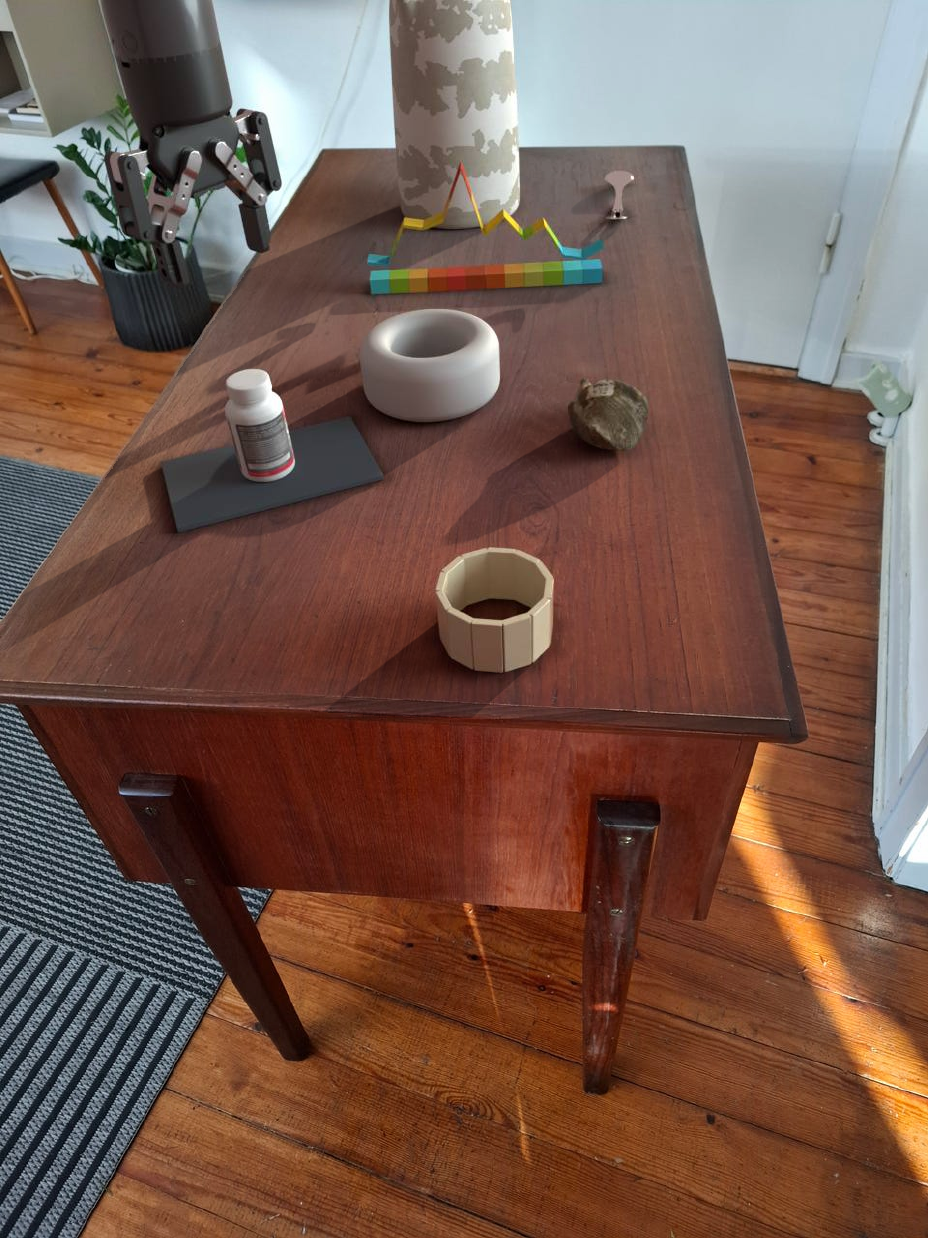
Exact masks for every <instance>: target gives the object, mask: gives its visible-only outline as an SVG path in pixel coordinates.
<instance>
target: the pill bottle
mask: <svg viewBox="0 0 928 1238" xmlns="http://www.w3.org/2000/svg"><path fill="white" fill-rule="evenodd" d="M225 387H226V391H227V396H228V398H229V400H228V401H227V402H226V404H225V407H224V413H225V418H226V421H227V425H228V429H229V432H230V436H231V440H232V445H233V444H234V448H235V451H236V455H237V458H238V462H239V465H240V469H241V472H242V474H243V475H244V476H245V477H246V478H247V479H249V480H252V481H256V482H270V481H275V480H278V479H281V478H283V477H284V476H286V475H287V474H289V473H290V472H291V471H292V469H293V468H294V465H295V459H294V454H293V449H292V445H291V440H290V436H289V431H290V430H289V427H288V422H287V419H286V418H287V417H286V414H285V407H284V403H283V401H282V399H281V397H280V396H279V395H278V394H277V393H276V392H274V391H272V390H273V389H272V387H273V385H272V382H271V378H270V376H269V373H267V372H266V371H265V370H263V369H259V368H248V369H247V368H246V369H243V370H240V371H237V372H234V373H233V374H231V375H229V377H228V378H227V379H226V382H225Z"/></svg>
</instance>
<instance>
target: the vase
mask: <svg viewBox="0 0 928 1238" xmlns="http://www.w3.org/2000/svg"><path fill="white" fill-rule="evenodd" d="M388 4H389V5H388V28H389V29H388V30H389V52H390V71H391V73H390V74H391V93H392V112H393V127H394V128H393V130H394V142H395V143H394V144H395V145H394V146H395V157H396V170H397V180H398V181H397V182H398V193H399V204H400V210H401V212H402V214H403V216H404V217H405V218H413V219H421V220H425V219H428V218H430V217H432V216H435V215H437V214H439V213H442V212H444V208H445V205H446V203H447V200H448V197H449V194H450V191H451V188H452V185H453V182H454V179H455V176H456V173H457V170H458V167H459V164H460V161H461V162H462V165H463V168H464V171H465V174H466V177H467V180H468V183H469V186H470V189H471V193H472V195H473V198H474V201H475V203H476V206H477V209H478V212H479V215H480V218H481V221H482V224H483V227H484V226H485V225H486V224H488V223H489V222H490V221H491V220H492V219H493V218H494V217H495V216H496V215H497V214H498V213H499V212H500V211H501V210H502V209H504V210H505V211H506V212H507V213H508V214H509V215H510V216H512V215H513V214H514V213H516V211H517V210H518V208H519V206H520V201H521V184H520V183H521V182H520V144H519V143H520V141H519V119H518V117H519V116H518V99H517V97H518V96H517V82H516V65H515V48H514V47H515V45H514V33H513V32H514V30H513V18H512V17H513V16H512V15H513V14H512V5H511V0H389V1H388ZM503 218H504V212H503ZM479 227H480V225H479V222H478V219H477V216H476V213H475V210H474V207H473V204H472V201H471V198H470V196H469V193H468V190H467V187H466V184H465V181H464V178H463V175H462V172H460V175H459V177H458V180H457V183H456V186H455V189H454V192H453V195H452V198H451V201H450V204H449V207H448V210H447V212H446V215H445V218H444V221H443V223H440V224H438V225H436V226H433V227H431V228H433V229H442V230H461V229H472V228H473V229H474V228H479Z"/></svg>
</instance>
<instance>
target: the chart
mask: <svg viewBox="0 0 928 1238" xmlns="http://www.w3.org/2000/svg"><path fill="white" fill-rule="evenodd" d="M460 172H462V175H463V178H464V181H465V184H466V187H467V190H468V193H469V196H470V198H471V201H472V204H473V207H474V210H475V213H476V216H477V219H478V222H479V225H480V228H479V229H480V230H481V233H482V236H483V238H485V237H486V236H488V235H489V234H490V233H491V232H492V231H493V230H494V229H495V228H496V227H498V225H500V223H502V222H503V221H504V222H506V223H507V225H509V226H510V227H511V229H512V230H513V231H514V232H515V233H516V234H517V235H518V236H519V237H520V238H521V239H522V240H523V241H527V240H528V239H529V238H531V237H533V236H534V235H536V234H537V233H538V232H540V231H542V230H543V229H544V231H546V233H547V234H548V236H549V238H550V239H551V241H552V242H553V244H554V245H555V247H556V249H557V250H558V252H559V253H560V254H561V256H562V257H563V258H564V259H569V260H563V261H559V260H558V261H543V262H541V261H540V262H523V263H506V264H505V263H504V264H503V263H502V264H486V265H485V264H484V265H466V266H447V267H429V268H407V269H405V268H403V269H383V270H371V271H370V276H369V286H370V293H371V295H383V294H407V293H408V294H409V293H410V294H411V293H430V292H431V293H432V292H451V291H467V290H469V291H470V290H491V289H506V288H507V289H509V288H510V289H511V288H528V287H529V288H530V287H544V286H545V287H546V286H549V287H550V286H565V285H566V286H567V285H582V284H585V285H586V284H587V285H588V284H602V283H603V270H604V269H603V264H602V261H601V259H598V258H597V259H596V258H595V259H588V258H591V256H593V255H595V254H597V253H599V252H601V251H602V250H604V242H603V240H602V238H599V239H597V240H596V241H594V242H592V243H590V244H589V245H587V246H585V247H583V248H582V249H581V248H575V247H574V248H573V247H566V246H562V244H561V243H560V241H559V239H558V238H557V237H556V235H555V234H554V232H553V230H552V229H551V227H550V226H549V224H548V222H547V221H546V220H545V218H544V217H543V216H542V217H540V218H539V219H538V220H536V221H535V222H533V223H531V224H530V225H529V226H527V227H526V228H524V229H523V228H522V227H521V226H520V225H519V224H518V222H517V221H516V220H514V218H513V217H512V215H509V214H508V213H507V212H506V211H505V210H504V209H502V210H501V211H500V212H499V213H498V214H497V215H496V216H495V217H494V218H493V219H492V220H491V221H490V222H489V223H488V224H486V225H484V226H483V224H482V221H481V218H480V215H479V212H478V209H477V206H476V203H475V201H474V198H473V195H472V193H471V189H470V186H469V183H468V180H467V177H466V174H465V171H464V168H463V165H462V162H461V161H460V164H459V167H458V170H457V173H456V176H455V179H454V182H453V185H452V188H451V191H450V194H449V197H448V200H447V203H446V205H445V208H444V212H442V213H439V214H437V215H435V216H432V217H430V218H428V219H425V220H421V219H413V218H406V217H405V216H404V218H403V220H402V223H401V225H400V227H399V229H398V233H397V235H396V238H395V240H394V242H393V245H392V247H391V250H390V251H389V254H388V255H381V254H371V253H368V256H367V266H375V267H383V268H388V267H389V265H390V263H391V261H392V258H393V255H394V253H395V251H396V249H397V245H398V243H399V241H400V238H401V236H402V233H403V231H404V229H409V230H417V231H426V230H429V229H431V228H432V227H433V226H436V225H438V224H440V223H443V221H444V218H445V215H446V212H447V210H448V207H449V204H450V201H451V198H452V195H453V192H454V189H455V186H456V183H457V180H458V177H459V175H460ZM503 212H504V218H503ZM570 259H572V260H570Z"/></svg>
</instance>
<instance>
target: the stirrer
mask: <svg viewBox="0 0 928 1238" xmlns="http://www.w3.org/2000/svg"><path fill="white" fill-rule="evenodd" d="M604 180H605V181H606V182H608V183H609V184H610V185H611V186H612V187H613V188H614V191H615V198H614V203H613V204H614V205H613V207H612V210H611V212H610V214H609V215H607V216H605V219H606V220H629V219H630V216H629V215H627V214H626V213H625V211H624V207H623V202H622V195H623V190H624V188H625V187H626V186H627V185H628V184H630V183H631V182H632V181H634V180H635V176H634V175H633V174H632V173H631V172H629V171H626V170H614V171H611V172H609V173H608V174H606V175H605V176H604ZM616 214H619V216H616Z"/></svg>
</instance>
